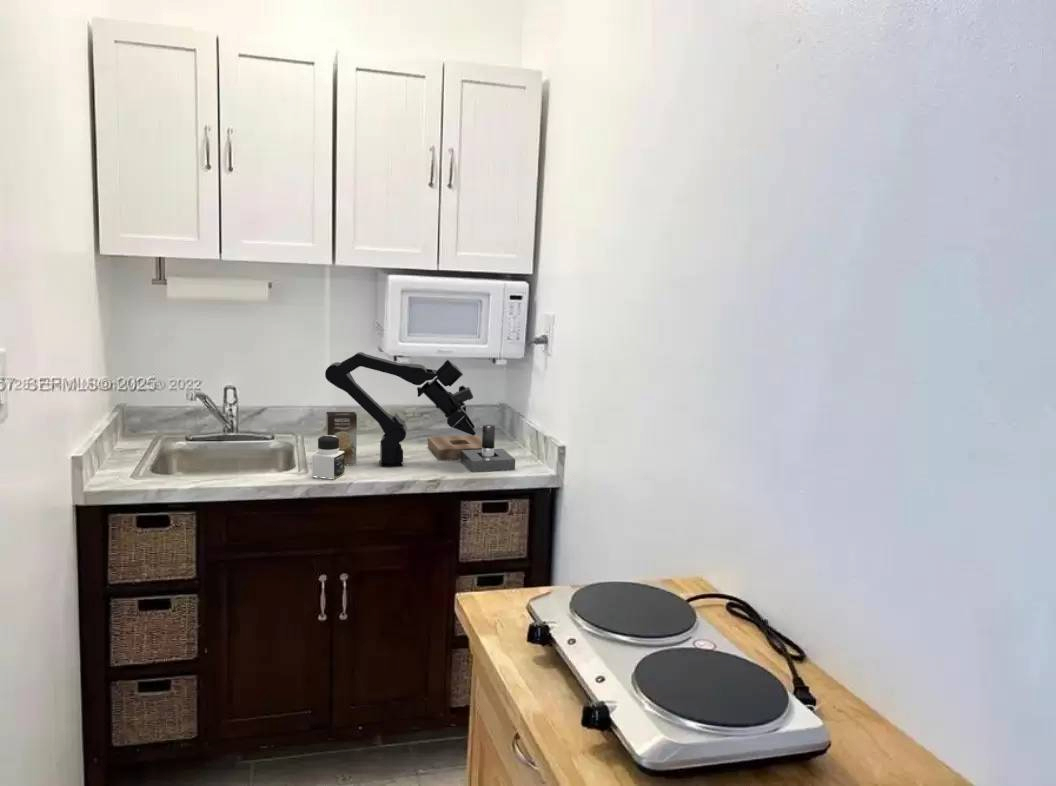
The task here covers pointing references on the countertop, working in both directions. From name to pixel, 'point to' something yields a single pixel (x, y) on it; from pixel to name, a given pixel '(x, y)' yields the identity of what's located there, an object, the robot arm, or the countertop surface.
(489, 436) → the dark rounded cylinder
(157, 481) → the countertop surface
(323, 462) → the medicine bottle
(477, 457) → the socket block
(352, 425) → the coffee box
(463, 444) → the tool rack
